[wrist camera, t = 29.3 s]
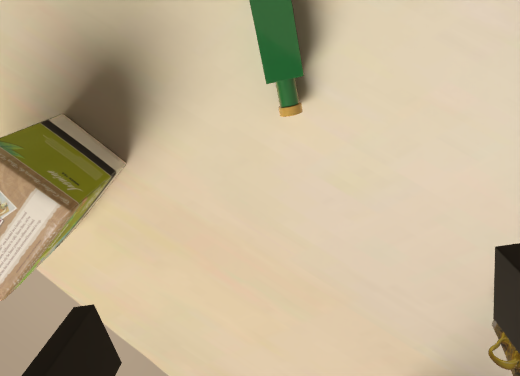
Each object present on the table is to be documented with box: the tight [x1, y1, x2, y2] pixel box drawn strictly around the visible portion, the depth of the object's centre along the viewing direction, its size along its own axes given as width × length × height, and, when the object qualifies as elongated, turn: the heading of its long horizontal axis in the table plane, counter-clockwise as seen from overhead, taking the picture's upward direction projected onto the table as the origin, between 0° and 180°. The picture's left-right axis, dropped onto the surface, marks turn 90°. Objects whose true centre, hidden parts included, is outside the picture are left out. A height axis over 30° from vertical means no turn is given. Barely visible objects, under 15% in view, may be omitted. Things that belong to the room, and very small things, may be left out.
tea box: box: [0, 114, 126, 301], centre depth 43 cm, size 15×10×15 cm, turn 138°
